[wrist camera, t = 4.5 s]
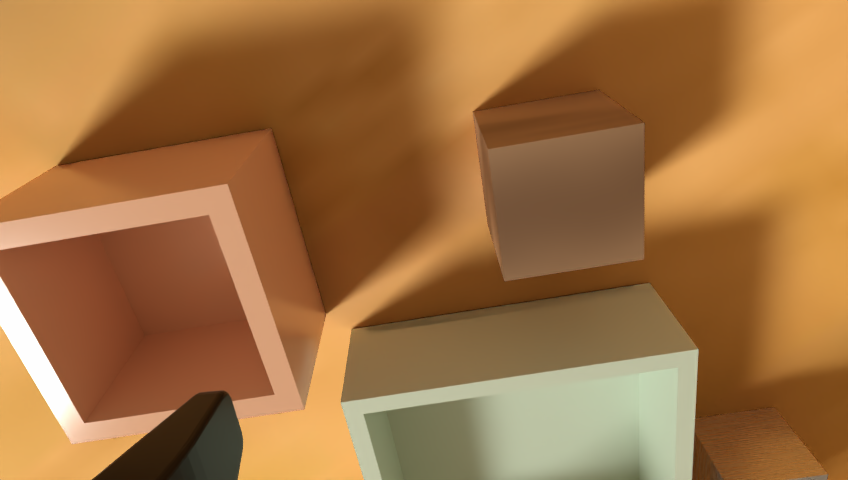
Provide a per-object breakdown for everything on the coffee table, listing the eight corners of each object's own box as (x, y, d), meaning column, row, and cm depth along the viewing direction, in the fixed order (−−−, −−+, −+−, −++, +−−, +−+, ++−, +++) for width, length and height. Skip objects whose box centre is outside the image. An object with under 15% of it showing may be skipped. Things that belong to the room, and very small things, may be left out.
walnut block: (602, 204, 20) (644, 259, 16) (487, 223, 20) (504, 281, 17) (598, 88, 18) (644, 122, 15) (472, 110, 18) (487, 149, 15)
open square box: (326, 314, 22) (304, 409, 17) (140, 344, 22) (71, 444, 18) (271, 128, 18) (227, 183, 14) (55, 166, 19) (-55, 232, 14)
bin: (648, 493, 26) (686, 578, 23) (405, 526, 27) (404, 614, 23) (649, 282, 21) (698, 349, 18) (351, 329, 22) (340, 402, 18)
